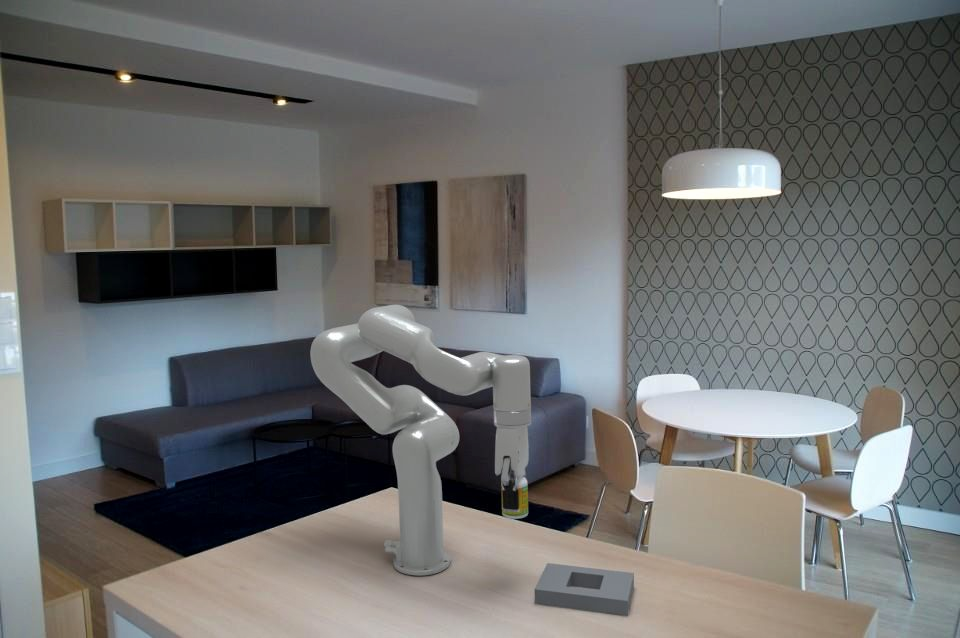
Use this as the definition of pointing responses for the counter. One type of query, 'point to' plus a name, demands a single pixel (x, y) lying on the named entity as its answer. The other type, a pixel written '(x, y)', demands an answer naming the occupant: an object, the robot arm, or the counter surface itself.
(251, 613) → the counter surface
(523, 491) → the supplement bottle
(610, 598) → the socket block
